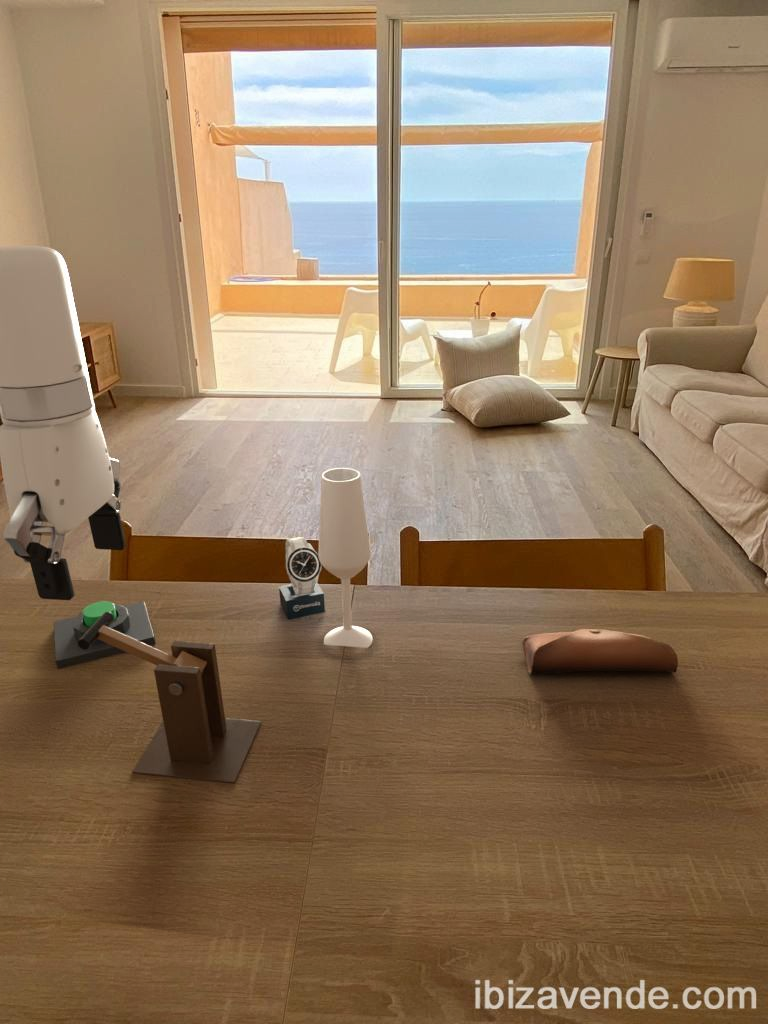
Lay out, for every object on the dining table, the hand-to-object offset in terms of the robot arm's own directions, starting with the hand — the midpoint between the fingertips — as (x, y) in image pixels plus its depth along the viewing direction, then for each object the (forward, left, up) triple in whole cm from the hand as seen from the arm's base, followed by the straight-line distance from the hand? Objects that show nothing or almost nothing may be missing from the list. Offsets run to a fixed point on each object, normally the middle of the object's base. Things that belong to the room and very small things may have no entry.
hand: (85, 571), depth 67 cm
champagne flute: (+24, +20, -22) cm, 38 cm away
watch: (+17, +28, -22) cm, 39 cm away
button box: (-9, +20, -22) cm, 31 cm away
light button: (-9, +20, -18) cm, 29 cm away
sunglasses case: (+56, +15, -22) cm, 62 cm away
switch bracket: (+9, -1, -22) cm, 24 cm away
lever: (+4, -1, -10) cm, 11 cm away
